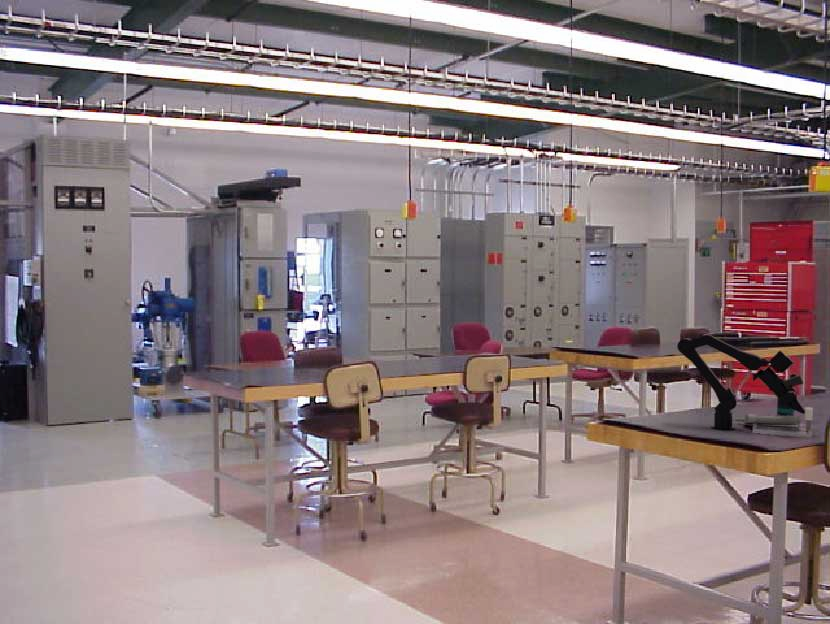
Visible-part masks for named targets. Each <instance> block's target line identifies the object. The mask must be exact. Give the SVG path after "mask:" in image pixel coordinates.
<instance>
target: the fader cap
mask: <svg viewBox="0 0 830 624" xmlns="http://www.w3.org/2000/svg"><path fill="white" fill-rule="evenodd" d="M804 410H805V413H804V420H805V429H806V430H808V429H811V430H812V421H813V416H814V415H813V411H814V410H813V407H807V406H805V407H804Z"/></svg>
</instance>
